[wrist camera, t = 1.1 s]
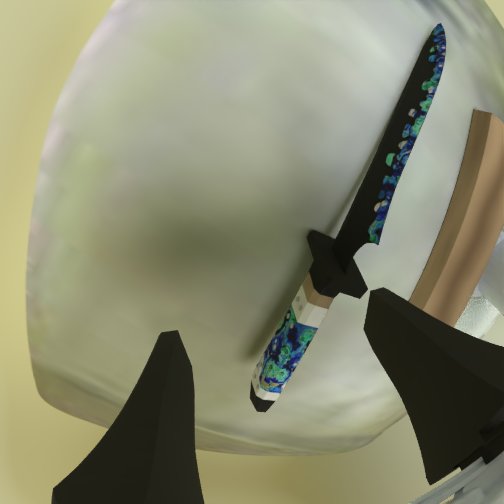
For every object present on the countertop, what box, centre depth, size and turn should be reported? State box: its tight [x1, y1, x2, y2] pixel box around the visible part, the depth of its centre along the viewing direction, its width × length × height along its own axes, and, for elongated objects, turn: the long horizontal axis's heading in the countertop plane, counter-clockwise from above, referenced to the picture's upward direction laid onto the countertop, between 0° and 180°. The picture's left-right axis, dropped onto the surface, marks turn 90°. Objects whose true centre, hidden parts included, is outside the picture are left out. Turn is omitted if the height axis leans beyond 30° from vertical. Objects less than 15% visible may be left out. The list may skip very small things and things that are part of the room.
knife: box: [250, 23, 446, 412], centre depth 16 cm, size 31×3×4 cm, turn 151°
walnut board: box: [409, 110, 504, 327], centre depth 20 cm, size 7×20×2 cm, turn 170°
